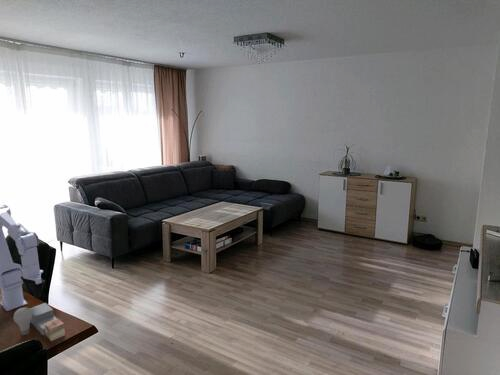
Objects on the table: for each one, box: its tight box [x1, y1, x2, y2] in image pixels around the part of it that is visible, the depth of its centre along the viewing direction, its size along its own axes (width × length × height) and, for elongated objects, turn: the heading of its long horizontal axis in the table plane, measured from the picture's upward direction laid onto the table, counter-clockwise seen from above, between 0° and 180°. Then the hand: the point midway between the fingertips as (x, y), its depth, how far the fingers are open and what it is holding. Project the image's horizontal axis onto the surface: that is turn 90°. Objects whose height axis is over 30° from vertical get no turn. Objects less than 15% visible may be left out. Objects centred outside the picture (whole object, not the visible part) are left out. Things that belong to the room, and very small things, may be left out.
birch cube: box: [45, 318, 66, 342], centre depth 137 cm, size 5×5×5 cm
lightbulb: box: [13, 306, 33, 336], centre depth 137 cm, size 6×6×11 cm
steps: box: [28, 302, 58, 336], centre depth 144 cm, size 14×6×6 cm, turn 49°
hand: (34, 294), depth 147 cm, fingers open, 7 cm apart
